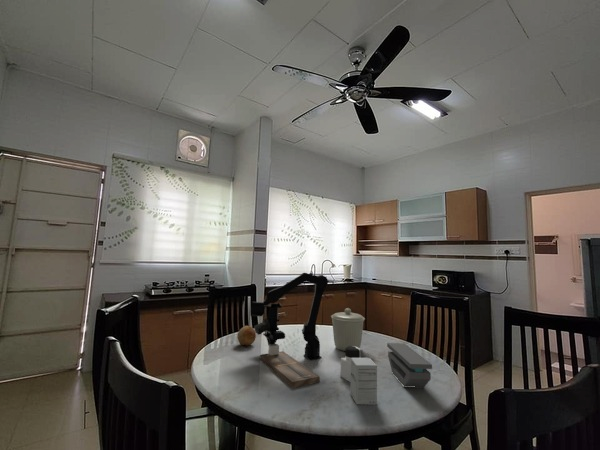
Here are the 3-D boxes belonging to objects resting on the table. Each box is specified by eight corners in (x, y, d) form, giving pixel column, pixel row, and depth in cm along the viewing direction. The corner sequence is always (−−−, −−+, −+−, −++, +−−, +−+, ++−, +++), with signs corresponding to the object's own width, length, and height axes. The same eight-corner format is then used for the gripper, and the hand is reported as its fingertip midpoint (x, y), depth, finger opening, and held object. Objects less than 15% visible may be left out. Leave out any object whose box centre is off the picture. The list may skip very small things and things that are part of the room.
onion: (233, 347, 147) (234, 327, 148) (242, 341, 157) (243, 323, 158) (250, 349, 144) (251, 329, 146) (258, 343, 154) (259, 325, 155)
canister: (369, 347, 153) (369, 308, 156) (357, 357, 138) (357, 313, 140) (338, 341, 163) (339, 304, 165) (324, 349, 148) (325, 308, 150)
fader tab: (276, 352, 135) (276, 343, 135) (278, 354, 132) (279, 345, 133) (268, 353, 133) (268, 344, 133) (270, 355, 130) (271, 346, 131)
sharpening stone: (387, 368, 125) (387, 342, 126) (404, 368, 125) (404, 343, 127) (410, 396, 100) (410, 364, 102) (432, 396, 101) (431, 364, 102)
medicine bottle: (350, 383, 109) (351, 351, 110) (340, 376, 115) (340, 345, 117) (365, 380, 112) (365, 348, 114) (354, 373, 119) (354, 343, 120)
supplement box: (349, 394, 100) (350, 357, 102) (370, 394, 101) (370, 357, 102) (355, 405, 93) (356, 365, 94) (377, 404, 93) (377, 365, 95)
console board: (282, 355, 137) (283, 350, 137) (319, 381, 109) (319, 375, 110) (259, 359, 131) (260, 354, 131) (292, 387, 104) (292, 381, 104)
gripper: (249, 314, 142) (248, 346, 140) (263, 322, 126) (262, 358, 124) (270, 312, 147) (268, 343, 145) (286, 320, 131) (285, 355, 129)
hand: (270, 349), depth 136 cm, fingers closed
